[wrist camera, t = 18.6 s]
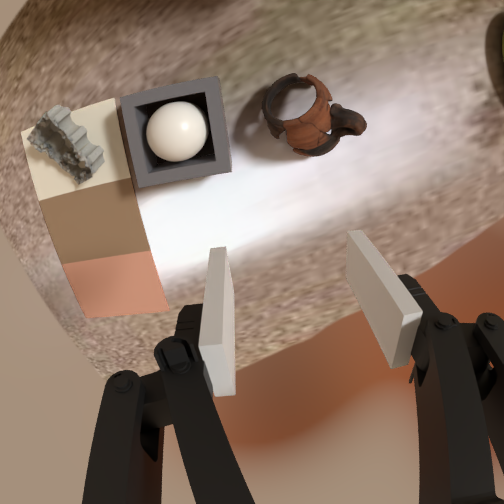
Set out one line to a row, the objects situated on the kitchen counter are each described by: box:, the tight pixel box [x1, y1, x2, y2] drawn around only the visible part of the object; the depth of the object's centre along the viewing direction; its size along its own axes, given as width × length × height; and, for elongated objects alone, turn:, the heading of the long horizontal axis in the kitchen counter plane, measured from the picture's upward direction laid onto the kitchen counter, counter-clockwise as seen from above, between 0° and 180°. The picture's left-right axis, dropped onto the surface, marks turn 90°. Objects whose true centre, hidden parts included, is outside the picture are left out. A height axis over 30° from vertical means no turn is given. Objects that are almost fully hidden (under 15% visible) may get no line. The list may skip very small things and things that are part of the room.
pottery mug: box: [262, 73, 367, 157], centre depth 34 cm, size 12×9×8 cm
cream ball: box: [146, 101, 209, 162], centre depth 34 cm, size 7×7×7 cm
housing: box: [120, 76, 232, 188], centre depth 35 cm, size 11×11×5 cm
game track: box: [21, 98, 170, 318], centre depth 42 cm, size 33×16×1 cm, turn 7°
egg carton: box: [27, 105, 105, 185], centre depth 33 cm, size 11×8×4 cm
